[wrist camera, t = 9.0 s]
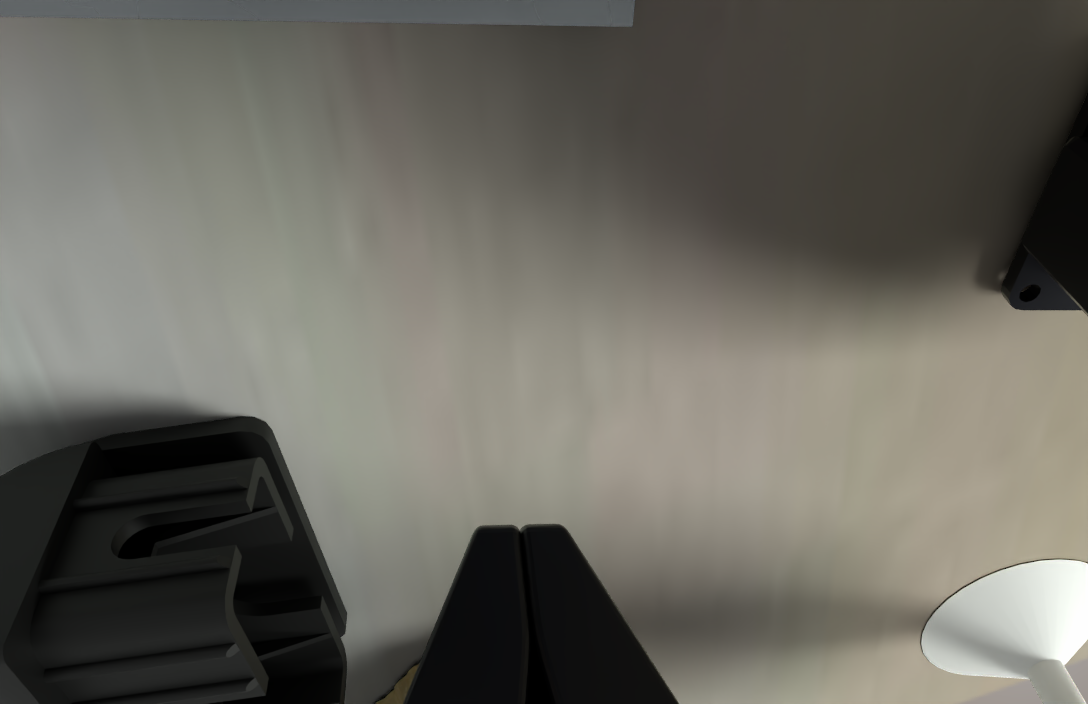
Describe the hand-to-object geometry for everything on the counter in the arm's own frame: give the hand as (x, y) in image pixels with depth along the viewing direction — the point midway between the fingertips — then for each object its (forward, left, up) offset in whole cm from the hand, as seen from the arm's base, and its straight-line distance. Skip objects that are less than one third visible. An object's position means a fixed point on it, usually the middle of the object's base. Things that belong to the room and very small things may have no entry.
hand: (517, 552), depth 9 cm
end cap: (+8, +14, -12) cm, 20 cm away
